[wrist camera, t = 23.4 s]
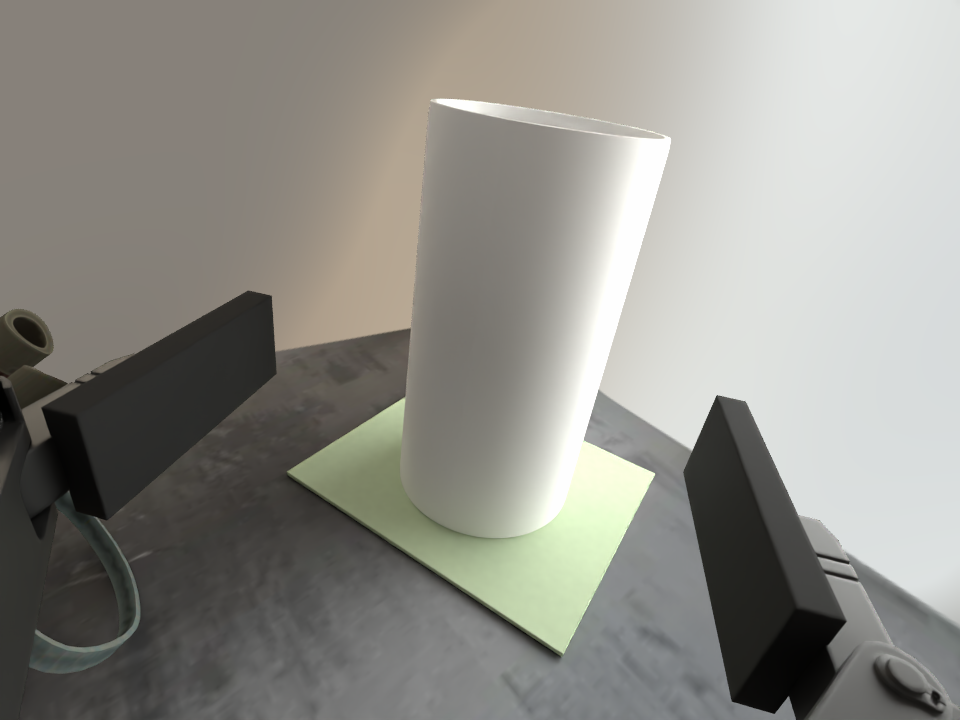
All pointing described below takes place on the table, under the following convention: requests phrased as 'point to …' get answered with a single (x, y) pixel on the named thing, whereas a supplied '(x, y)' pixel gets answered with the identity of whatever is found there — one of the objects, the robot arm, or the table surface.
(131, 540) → the table surface
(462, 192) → the cup
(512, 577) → the placemat
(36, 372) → the binoculars
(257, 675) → the table surface
